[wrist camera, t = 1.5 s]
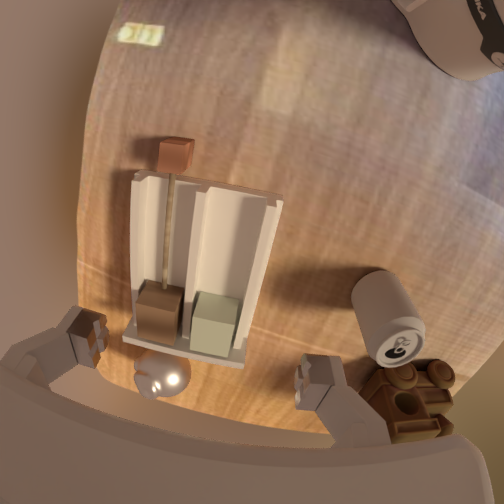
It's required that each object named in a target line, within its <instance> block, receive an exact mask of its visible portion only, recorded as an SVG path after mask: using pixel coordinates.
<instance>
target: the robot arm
mask: <svg viewBox="0 0 504 504" xmlns="http://www.w3.org/2000/svg"><path fill="white" fill-rule="evenodd" d="M391 1H392V2H393V3H394V5H395V6H396V7H397V8H398V9H399V10H400V11H401V12H402V13H403V14H404V16H405V17H406V19H407V21H408V22H409V25H410V27H411V29H412V32H413V34H414V36H415V38H416V40H417V41H418V43H419V45H420V46H421V48H422V49H423V50H424V52H425V53H426V54H427V56H428V57H429V58H430V59H431V60H432V61H433V62H434V63H435V64H436V65H437V66H438V67H439V68H441V69H442V70H443V71H445V72H446V73H448V74H449V75H451V76H453V77H456V78H458V79H461V80H466V81H474V80H478V79H481V78H483V77H485V76H487V75H489V74H492V73H496V72H501V71H504V0H391ZM106 323H107V318H106V315H104V314H101V313H98V312H95V311H92V310H89V309H86V308H82V307H79V306H76V305H75V306H72V307H71V309H70V310H69V311H68V313H67V314H66V315H65V317H64V318H63V319H62V321H61V322H60V323H59V324H58V326H57V327H56V328H51V329H48V330H46V331H44V332H41V333H39V334H37V335H34V336H32V337H30V338H28V339H25V340H23V341H21V342H18V343H16V344H14V345H12V346H11V347H10V349H9V350H8V351H7V353H6V354H5V355H4V357H3V358H2V360H1V361H0V504H495V503H494V497H493V491H492V487H491V482H490V478H489V474H488V470H487V467H486V463H485V460H484V457H483V455H482V453H481V451H480V450H479V449H478V448H477V447H476V446H475V445H473V444H472V443H471V442H470V441H469V440H467V439H466V438H465V437H464V436H462V435H461V434H451V435H446V436H442V437H437V438H431V439H426V440H420V441H414V442H407V443H399V444H391V440H390V436H389V433H388V429H387V425H386V421H385V420H384V419H383V418H382V417H381V416H380V415H379V414H378V413H377V412H376V411H375V410H374V409H373V408H372V407H371V406H370V405H369V404H368V403H367V402H366V401H365V400H364V399H363V398H362V397H361V396H360V395H359V394H358V393H357V392H356V391H355V390H354V389H353V388H352V387H351V386H347V382H346V378H345V374H344V370H343V366H342V361H341V358H340V357H339V356H327V355H317V354H306V353H304V354H303V356H302V358H301V365H299V366H298V367H297V369H296V372H295V376H294V388H295V390H296V391H297V393H296V395H295V407H296V409H297V410H309V411H315V413H316V414H317V415H318V417H319V418H320V420H321V421H322V423H323V424H324V425H325V427H326V428H327V430H328V431H329V432H330V434H331V435H332V437H333V438H334V439H335V440H336V442H335V444H334V445H333V446H332V447H331V448H323V449H322V448H321V449H320V448H315V449H314V448H284V447H270V446H258V445H249V444H240V443H232V442H225V441H218V440H212V439H206V438H201V437H195V436H190V435H185V434H180V433H175V432H171V431H167V430H163V429H159V428H155V427H151V426H147V425H144V424H140V423H137V422H133V421H130V420H126V419H123V418H120V417H117V416H114V415H111V414H108V413H105V412H102V411H99V410H96V409H94V408H91V407H88V406H85V405H83V404H80V403H78V402H75V401H73V400H71V399H68V398H66V397H63V396H61V395H59V394H57V393H54V392H52V391H51V389H50V387H49V385H48V384H49V383H51V382H52V381H54V380H55V379H57V378H58V377H60V376H61V375H63V374H64V373H66V372H67V371H69V370H70V369H72V368H73V367H75V366H76V365H78V364H81V365H84V366H87V367H90V368H94V369H95V368H96V366H97V364H98V362H99V360H100V358H101V356H100V353H101V352H103V351H105V349H106V347H107V345H108V341H109V330H108V328H107V327H106V326H105V325H106Z"/></svg>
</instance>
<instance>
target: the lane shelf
mask: <svg viewBox="0 0 504 504" xmlns="http://www.w3.org/2000/svg"><path fill="white" fill-rule="evenodd" d="M168 183H169V174H168V173H162V172H155V171H148V170H142V169H141V170H140V171H138V172H136V173H135V174H134V179H133V180H132V184H131V207H130V273H131V295H132V311H133V316H132V318H131V320H130V322H129V324H128V326H127V328H126V329H125V331H124V333H123V335H122V337H123V342H127V343H130V344H134V345H137V346H141V347H145V348H148V349H152V350H156V351H160V352H164V353H168V354H172V355H176V356H180V357H184V358H189V359H193V360H198V361H203V362H207V363H212V364H217V365H223V366H228V367H233V368H239V369H243V368H244V365H245V356H246V345H247V337H248V333H249V330H250V326H251V322H252V319H253V315H254V311H255V308H256V304H257V300H258V297H259V293H260V289H261V286H262V282H263V278H264V274H265V271H266V267H267V263H268V259H269V256H270V252H271V248H272V244H273V240H274V236H275V233H276V229H277V225H278V221H279V217H280V213H281V209H282V206H283V202H284V200H283V195H278V194H274V193H269V192H265V191H260V190H255V189H250V188H245V187H240V186H235V185H230V184H225V183H220V182H214V181H209V180H203V179H198V178H192V177H186V176H180V175H176V179H175V188H174V197H173V207H172V218H171V229H170V243H169V257H168V275H167V284H169V285H174V286H178V287H183V288H184V299H183V313H182V322H181V325H180V328H179V331H178V334H177V337H176V339H175V342H174V345H173V346H172V345H168V344H164V343H160V342H156V341H152V340H148V339H144V338H141V337H138V335H137V322H136V307H135V302H136V301H137V299H138V297H139V295H140V294H141V292H142V290H143V288H144V287H145V285H146V283H147V282H148V280H152V281H156V282H161V283H162V263H163V244H164V229H165V216H166V204H167V193H168ZM200 292H206V293H211V294H216V295H221V296H225V297H230V298H235V299H239V301H238V308H237V314H236V321H235V327H234V331H233V336H232V340H231V344H230V349H229V353H228V357H222V356H217V355H212V354H207V353H203V352H198V351H193V350H190V340H191V329H192V319H193V314H194V311H195V308H196V305H197V302H198V299H199V295H200Z"/></svg>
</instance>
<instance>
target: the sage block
mask: <svg viewBox="0 0 504 504" xmlns="http://www.w3.org/2000/svg"><path fill="white" fill-rule="evenodd" d="M238 301H239V299H235V298H230V297H225V296H221V295H216V294H211V293H206V292H200V295H199V299H198V302H197V305H196V308H195V311H194V314H193V319H192V329H191V340H190V350H193V351H198V352H203V353H207V354H212V355H217V356H222V357H228V353H229V349H230V344H231V340H232V336H233V331H234V327H235V321H236V314H237V308H238Z"/></svg>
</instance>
